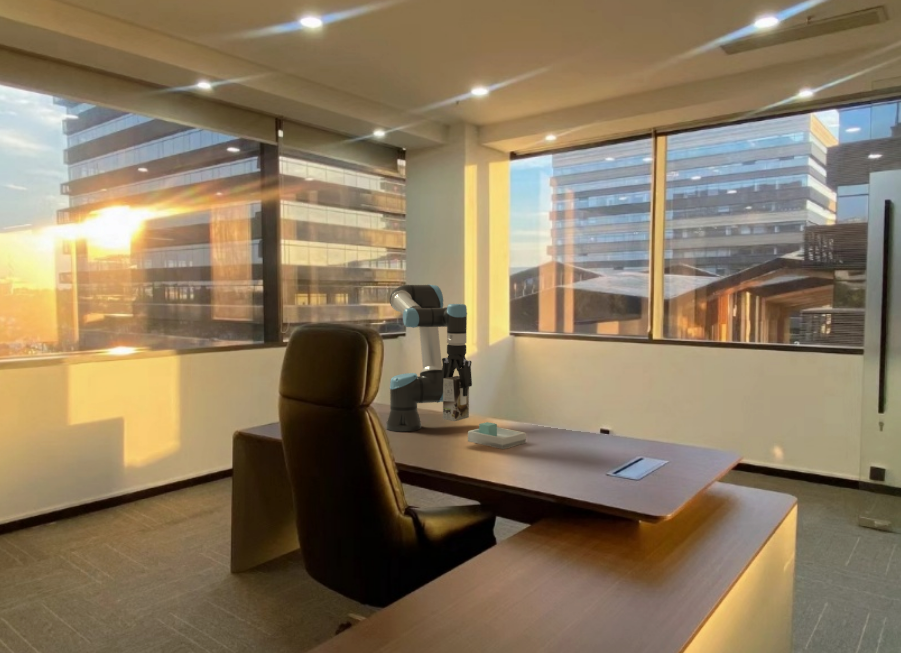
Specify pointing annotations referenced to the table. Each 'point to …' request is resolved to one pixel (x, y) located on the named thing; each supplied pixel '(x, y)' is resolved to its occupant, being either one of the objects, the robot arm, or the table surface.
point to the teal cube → (488, 428)
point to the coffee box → (454, 400)
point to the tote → (498, 438)
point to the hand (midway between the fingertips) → (456, 402)
